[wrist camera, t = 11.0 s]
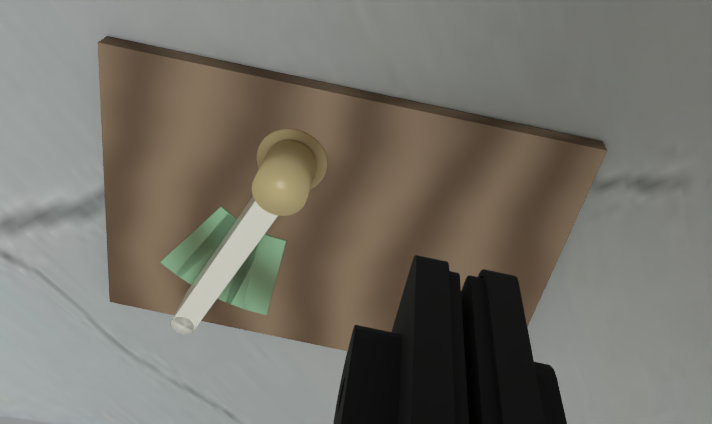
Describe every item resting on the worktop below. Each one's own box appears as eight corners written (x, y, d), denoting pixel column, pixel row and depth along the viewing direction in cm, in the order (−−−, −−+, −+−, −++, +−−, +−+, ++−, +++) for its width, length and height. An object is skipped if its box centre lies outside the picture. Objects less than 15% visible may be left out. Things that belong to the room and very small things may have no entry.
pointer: (281, 130, 37) (268, 156, 34) (326, 159, 38) (317, 187, 35) (172, 293, 45) (154, 325, 42) (211, 314, 46) (196, 347, 43)
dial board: (602, 141, 37) (607, 151, 36) (500, 371, 48) (501, 384, 47) (106, 36, 37) (97, 42, 36) (116, 291, 48) (109, 302, 47)
